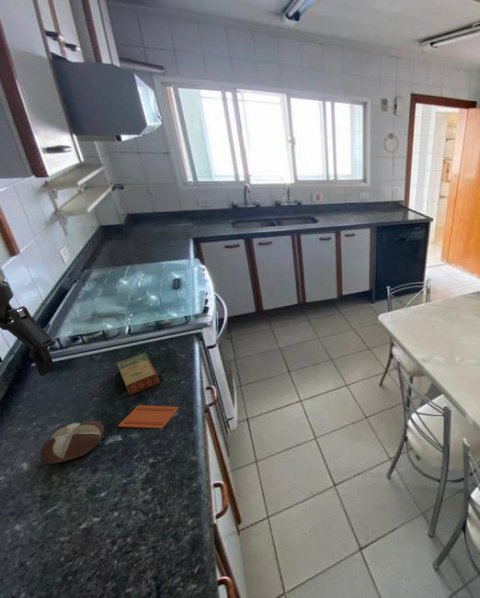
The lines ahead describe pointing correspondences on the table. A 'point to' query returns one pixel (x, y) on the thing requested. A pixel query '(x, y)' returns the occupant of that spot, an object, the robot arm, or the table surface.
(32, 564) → the table surface
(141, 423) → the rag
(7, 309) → the robot arm
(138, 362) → the carton
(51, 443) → the bread
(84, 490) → the table surface
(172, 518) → the table surface
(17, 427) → the table surface
